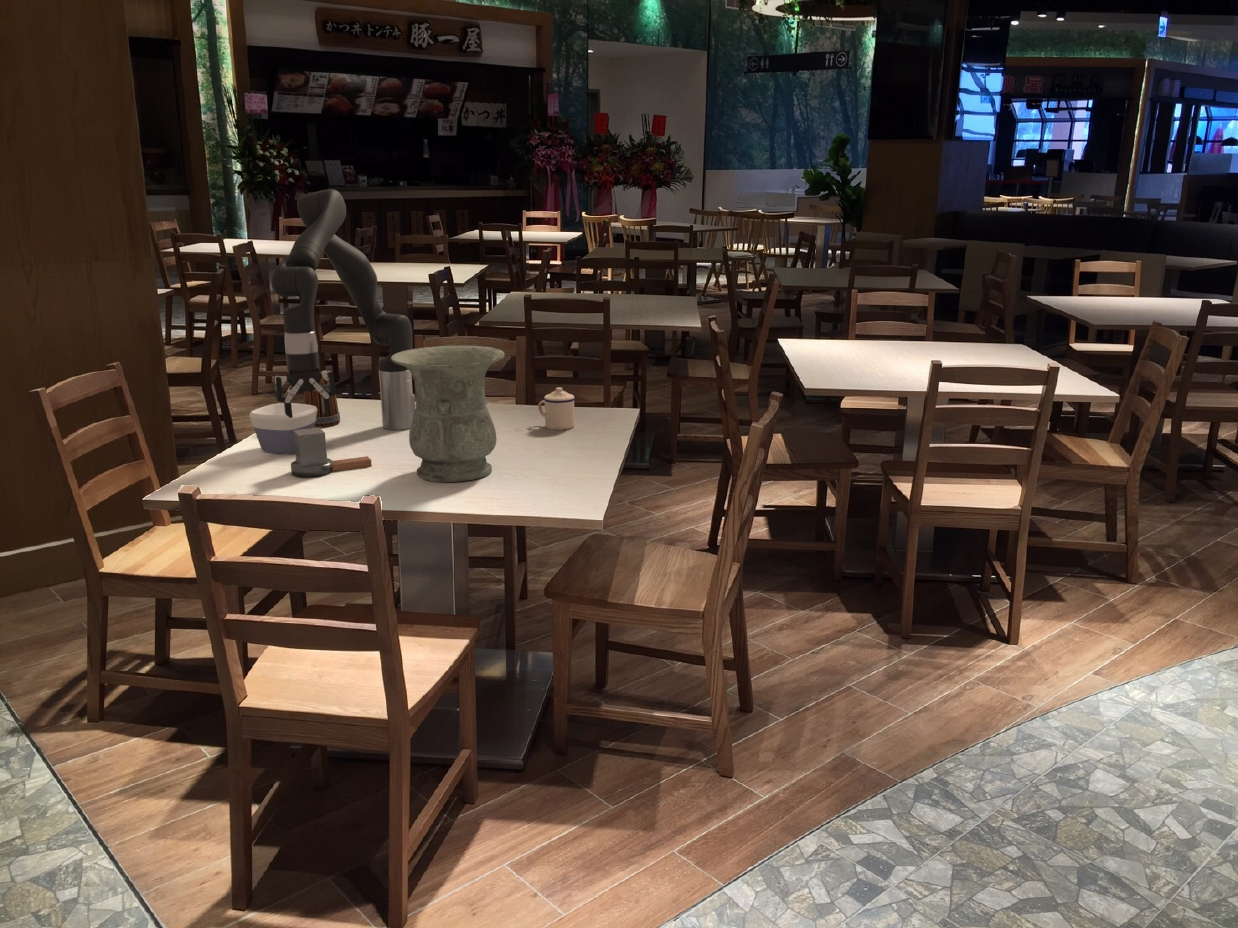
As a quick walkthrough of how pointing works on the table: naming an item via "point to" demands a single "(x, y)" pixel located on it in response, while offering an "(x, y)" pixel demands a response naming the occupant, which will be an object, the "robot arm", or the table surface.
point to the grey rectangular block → (310, 447)
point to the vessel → (451, 411)
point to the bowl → (281, 426)
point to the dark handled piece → (329, 467)
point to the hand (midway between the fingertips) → (307, 415)
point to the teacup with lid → (558, 410)
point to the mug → (316, 400)
